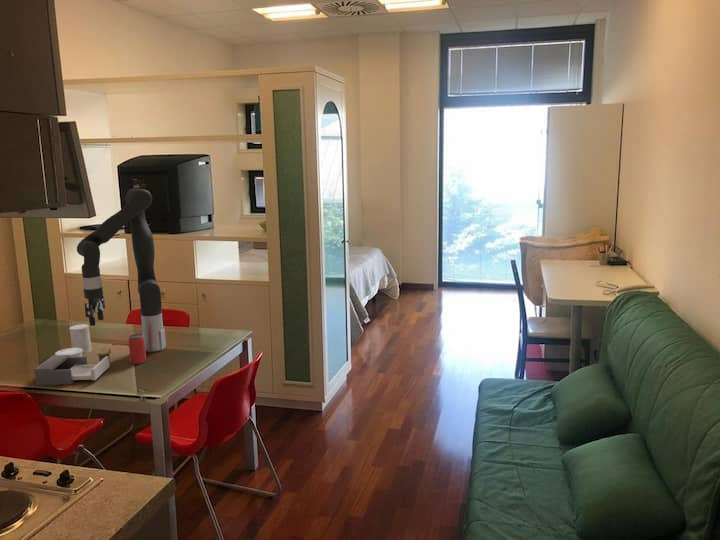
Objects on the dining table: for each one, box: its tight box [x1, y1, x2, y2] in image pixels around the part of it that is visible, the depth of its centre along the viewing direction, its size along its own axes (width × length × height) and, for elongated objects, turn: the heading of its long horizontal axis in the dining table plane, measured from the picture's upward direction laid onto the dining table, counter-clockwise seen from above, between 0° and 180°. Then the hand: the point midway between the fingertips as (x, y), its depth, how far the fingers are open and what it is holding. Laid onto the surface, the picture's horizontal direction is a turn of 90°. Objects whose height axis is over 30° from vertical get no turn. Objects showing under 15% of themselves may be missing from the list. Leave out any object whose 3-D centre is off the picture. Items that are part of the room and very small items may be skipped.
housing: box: [33, 354, 88, 386], centre depth 246 cm, size 14×16×7 cm
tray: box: [70, 356, 111, 381], centre depth 246 cm, size 14×16×5 cm
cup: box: [68, 323, 92, 355], centre depth 277 cm, size 8×8×12 cm
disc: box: [95, 346, 112, 357], centre depth 259 cm, size 6×6×2 cm
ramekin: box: [54, 347, 83, 357], centre depth 264 cm, size 11×11×5 cm
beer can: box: [128, 333, 147, 365], centre depth 262 cm, size 7×7×12 cm
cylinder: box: [98, 354, 111, 365], centre depth 260 cm, size 4×4×5 cm
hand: (97, 322), depth 258 cm, fingers open, 8 cm apart
